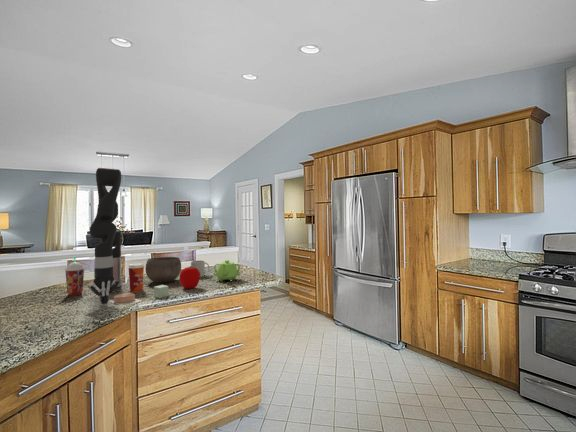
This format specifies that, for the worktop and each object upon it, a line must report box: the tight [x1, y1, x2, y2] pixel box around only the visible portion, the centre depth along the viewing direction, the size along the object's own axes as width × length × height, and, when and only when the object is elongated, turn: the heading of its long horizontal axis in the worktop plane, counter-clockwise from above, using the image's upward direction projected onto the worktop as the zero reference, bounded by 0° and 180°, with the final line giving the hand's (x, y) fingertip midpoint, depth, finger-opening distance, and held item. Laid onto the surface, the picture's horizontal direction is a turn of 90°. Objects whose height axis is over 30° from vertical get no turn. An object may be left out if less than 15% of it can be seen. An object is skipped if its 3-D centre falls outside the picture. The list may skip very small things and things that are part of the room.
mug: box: [190, 260, 210, 278], centre depth 213 cm, size 11×10×10 cm
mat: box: [108, 298, 142, 307], centre depth 155 cm, size 17×26×1 cm, turn 144°
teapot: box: [213, 259, 242, 282], centre depth 199 cm, size 16×14×13 cm
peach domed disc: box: [113, 292, 136, 304], centre depth 151 cm, size 9×9×2 cm
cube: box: [153, 284, 169, 299], centre depth 159 cm, size 5×5×5 cm
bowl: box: [145, 256, 182, 283], centre depth 196 cm, size 21×21×15 cm
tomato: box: [179, 265, 201, 290], centre depth 177 cm, size 11×11×13 cm
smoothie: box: [64, 256, 85, 297], centre depth 166 cm, size 8×8×20 cm
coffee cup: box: [127, 262, 145, 293], centre depth 171 cm, size 8×8×15 cm
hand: (104, 303), depth 144 cm, fingers closed
